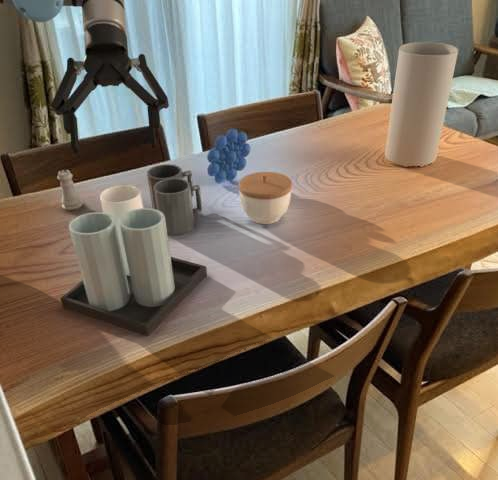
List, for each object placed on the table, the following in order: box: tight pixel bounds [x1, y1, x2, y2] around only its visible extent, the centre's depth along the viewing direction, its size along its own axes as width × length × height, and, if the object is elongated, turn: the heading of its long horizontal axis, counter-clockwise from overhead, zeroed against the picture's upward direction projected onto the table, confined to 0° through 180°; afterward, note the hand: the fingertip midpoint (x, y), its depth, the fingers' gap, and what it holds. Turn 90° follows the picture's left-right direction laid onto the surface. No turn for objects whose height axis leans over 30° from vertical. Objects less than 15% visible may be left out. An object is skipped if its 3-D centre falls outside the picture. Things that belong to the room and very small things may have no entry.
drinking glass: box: [99, 184, 145, 276], centre depth 93 cm, size 7×7×15 cm
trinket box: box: [238, 171, 293, 225], centre depth 110 cm, size 11×11×9 cm
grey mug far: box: [146, 164, 195, 210], centre depth 114 cm, size 10×7×9 cm
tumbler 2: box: [119, 207, 175, 307], centre depth 87 cm, size 7×7×15 cm
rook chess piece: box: [56, 169, 83, 212], centre depth 116 cm, size 4×4×8 cm
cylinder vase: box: [384, 41, 459, 168], centre depth 126 cm, size 12×12×25 cm
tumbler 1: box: [68, 211, 131, 311], centre depth 87 cm, size 7×7×15 cm
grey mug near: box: [153, 178, 203, 236], centre depth 108 cm, size 10×7×9 cm
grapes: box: [206, 128, 251, 184], centre depth 124 cm, size 12×7×12 cm, turn 124°
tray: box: [59, 256, 208, 337], centre depth 93 cm, size 17×18×2 cm
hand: (114, 147), depth 95 cm, fingers open, 13 cm apart
